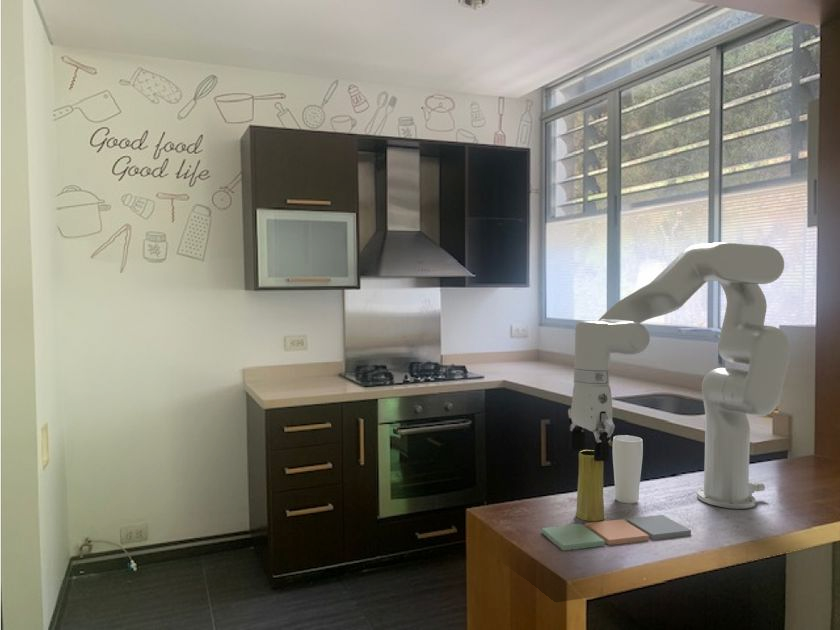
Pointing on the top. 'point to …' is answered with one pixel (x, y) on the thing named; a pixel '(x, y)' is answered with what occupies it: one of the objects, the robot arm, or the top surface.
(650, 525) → the grey coaster
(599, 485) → the vase
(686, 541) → the top surface
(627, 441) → the drinking glass
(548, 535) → the green coaster
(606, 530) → the terracotta coaster
